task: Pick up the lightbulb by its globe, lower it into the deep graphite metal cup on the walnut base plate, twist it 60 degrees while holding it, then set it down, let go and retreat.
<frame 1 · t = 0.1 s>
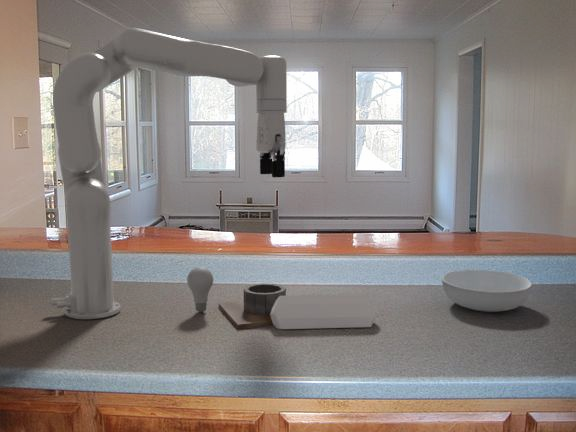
hand: (272, 175, 165), 31 cm above the countertop, fingers open, 9 cm apart
serving bowl: (484, 307, 158), on the countertop
socket: (264, 313, 153), on the countertop
crystal: (323, 326, 145), on the countertop, touching socket
lightbulb: (201, 313, 154), on the countertop
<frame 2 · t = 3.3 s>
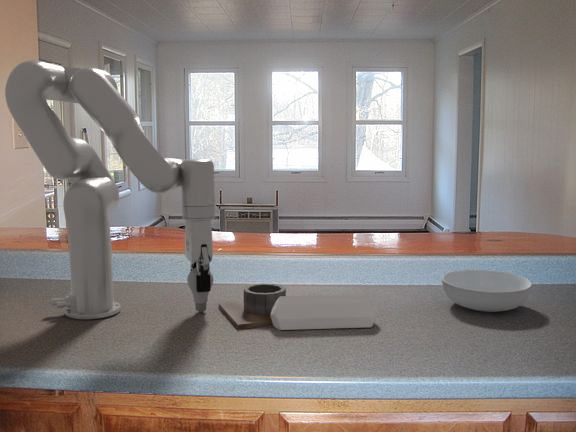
hand: (200, 287, 153), 6 cm above the countertop, fingers closed on lightbulb, 6 cm apart
lightbulb: (201, 313, 154), on the countertop, touching gripper
everything else where it was.
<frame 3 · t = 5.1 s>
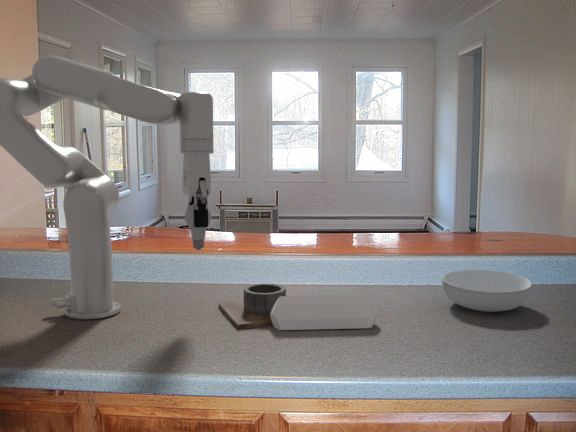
hand: (198, 224, 151), 21 cm above the countertop, fingers closed on lightbulb, 6 cm apart
lightbulb: (198, 250, 152), point 15 cm above the countertop, touching gripper
everything else where it was.
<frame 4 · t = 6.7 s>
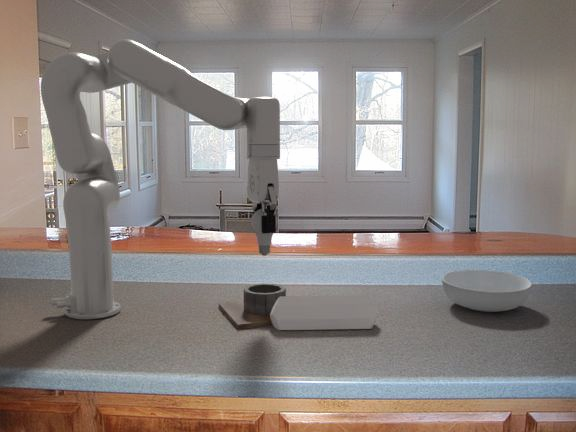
hand: (264, 229, 150), 20 cm above the countertop, fingers closed on lightbulb, 6 cm apart
lightbulb: (264, 256, 151), point 14 cm above the countertop, touching gripper
everything else where it was.
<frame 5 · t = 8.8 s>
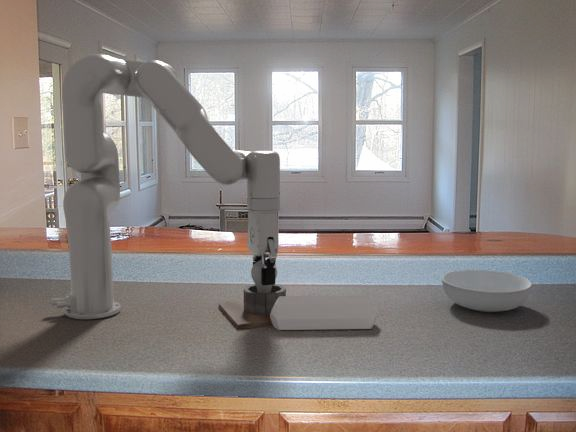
hand: (263, 280, 152), 8 cm above the countertop, fingers closed on lightbulb, 6 cm apart
lightbulb: (264, 306, 153), point 2 cm above the countertop, touching gripper
everything else where it was.
when the fingers open (7 cm above the countertop, at t = 10.3 s): lightbulb stays where it is, resting on socket.
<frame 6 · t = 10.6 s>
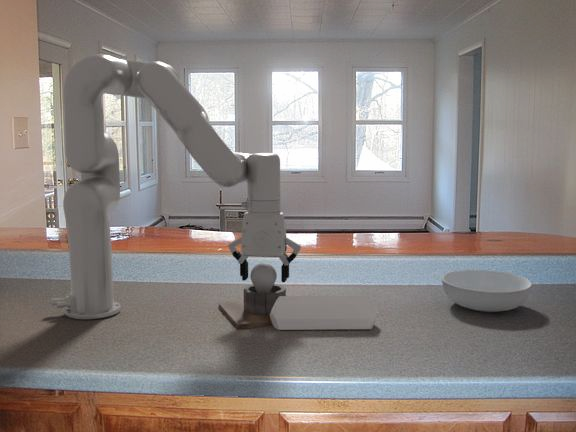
hand: (264, 280, 152), 8 cm above the countertop, fingers open, 9 cm apart
crystal: (323, 328, 145), on the countertop
lightbulb: (263, 309, 153), point 1 cm above the countertop, touching socket
everything else where it was.
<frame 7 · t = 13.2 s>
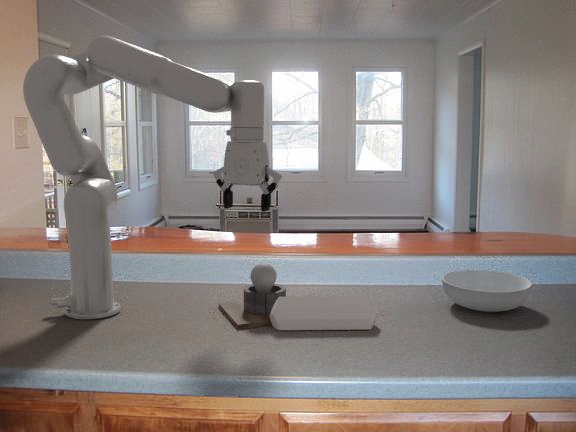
hand: (246, 209, 152), 24 cm above the countertop, fingers open, 9 cm apart
crystal: (323, 328, 144), on the countertop, touching socket
everything else where it was.
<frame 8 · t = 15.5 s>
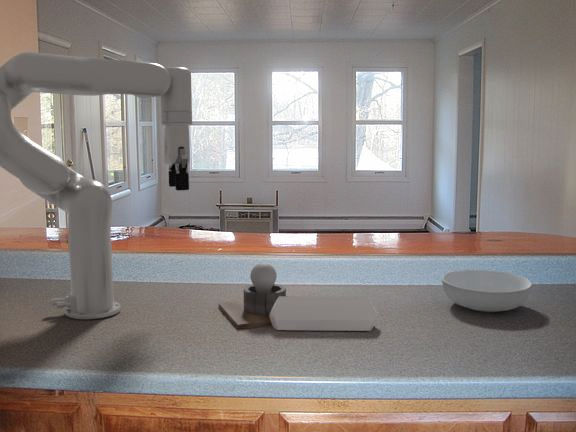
hand: (178, 188, 163), 28 cm above the countertop, fingers open, 9 cm apart
at the end: lightbulb 0.3 cm off-centre on the socket, point 0.9 cm above the socket's base; lightbulb tilted 0°; the gripper is holding nothing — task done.
